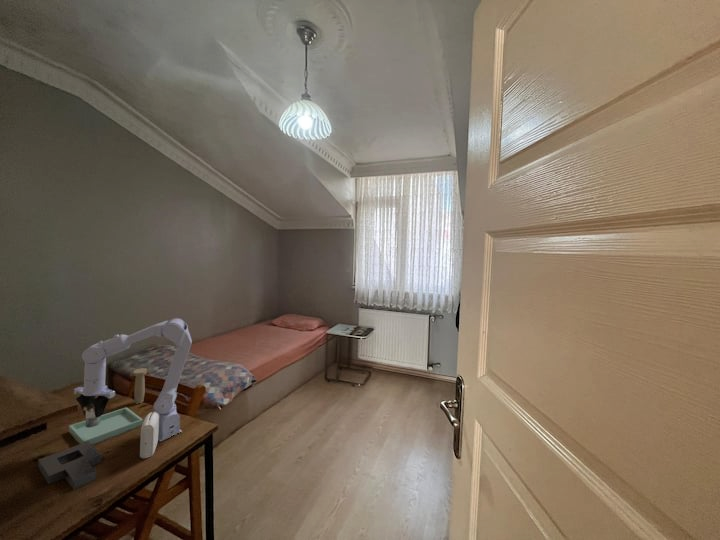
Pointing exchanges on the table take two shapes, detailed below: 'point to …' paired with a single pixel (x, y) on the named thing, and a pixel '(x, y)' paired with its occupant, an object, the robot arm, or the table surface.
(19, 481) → the table surface
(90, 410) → the clear tall piece
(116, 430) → the tray
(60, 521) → the table surface
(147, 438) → the photo printer
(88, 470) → the plate
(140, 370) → the handle
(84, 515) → the table surface
